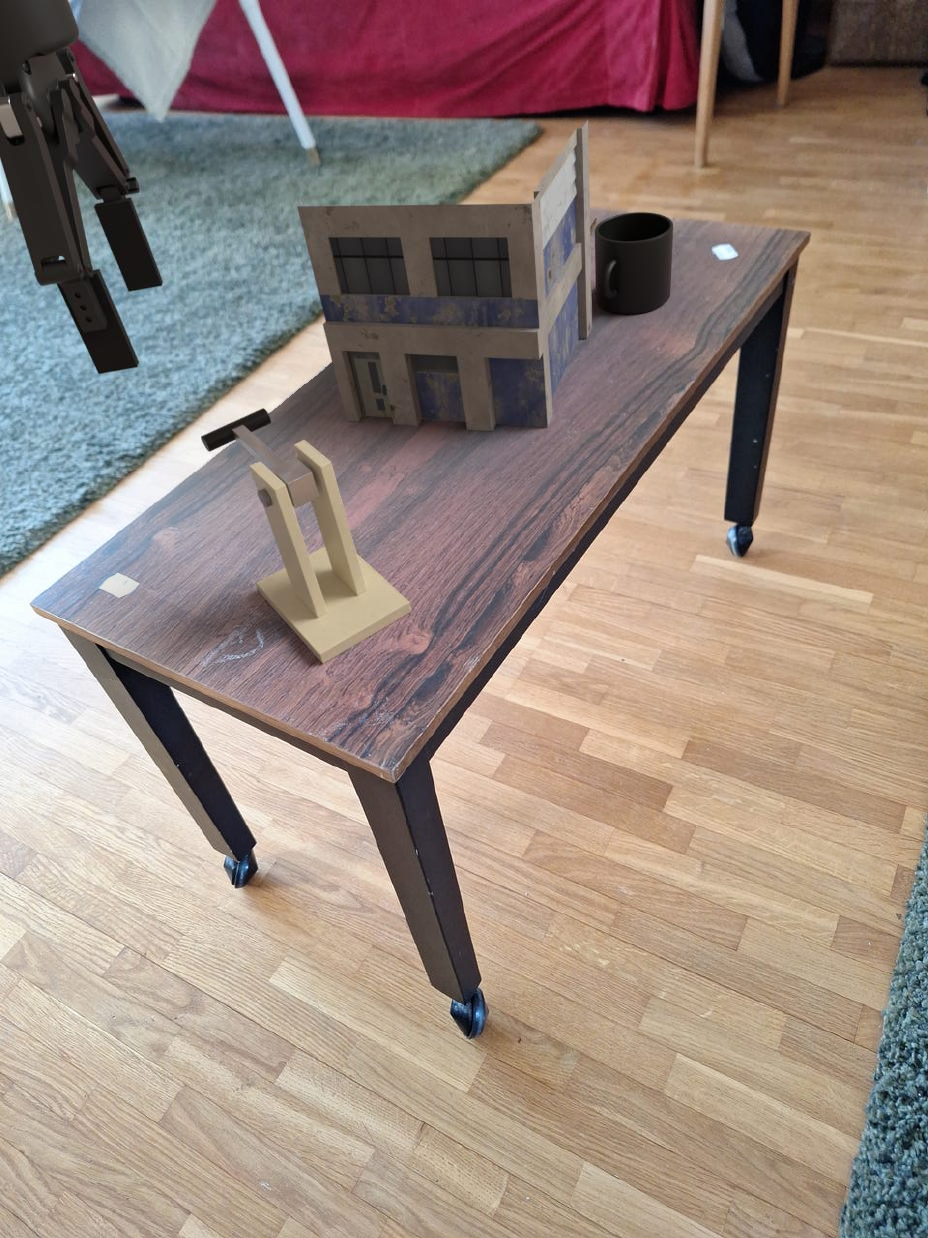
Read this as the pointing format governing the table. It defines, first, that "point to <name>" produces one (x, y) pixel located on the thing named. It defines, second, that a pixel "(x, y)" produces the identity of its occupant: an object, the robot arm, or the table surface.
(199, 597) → the table surface
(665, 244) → the mug
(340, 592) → the bracket
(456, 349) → the building
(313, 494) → the lever
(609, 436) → the table surface
